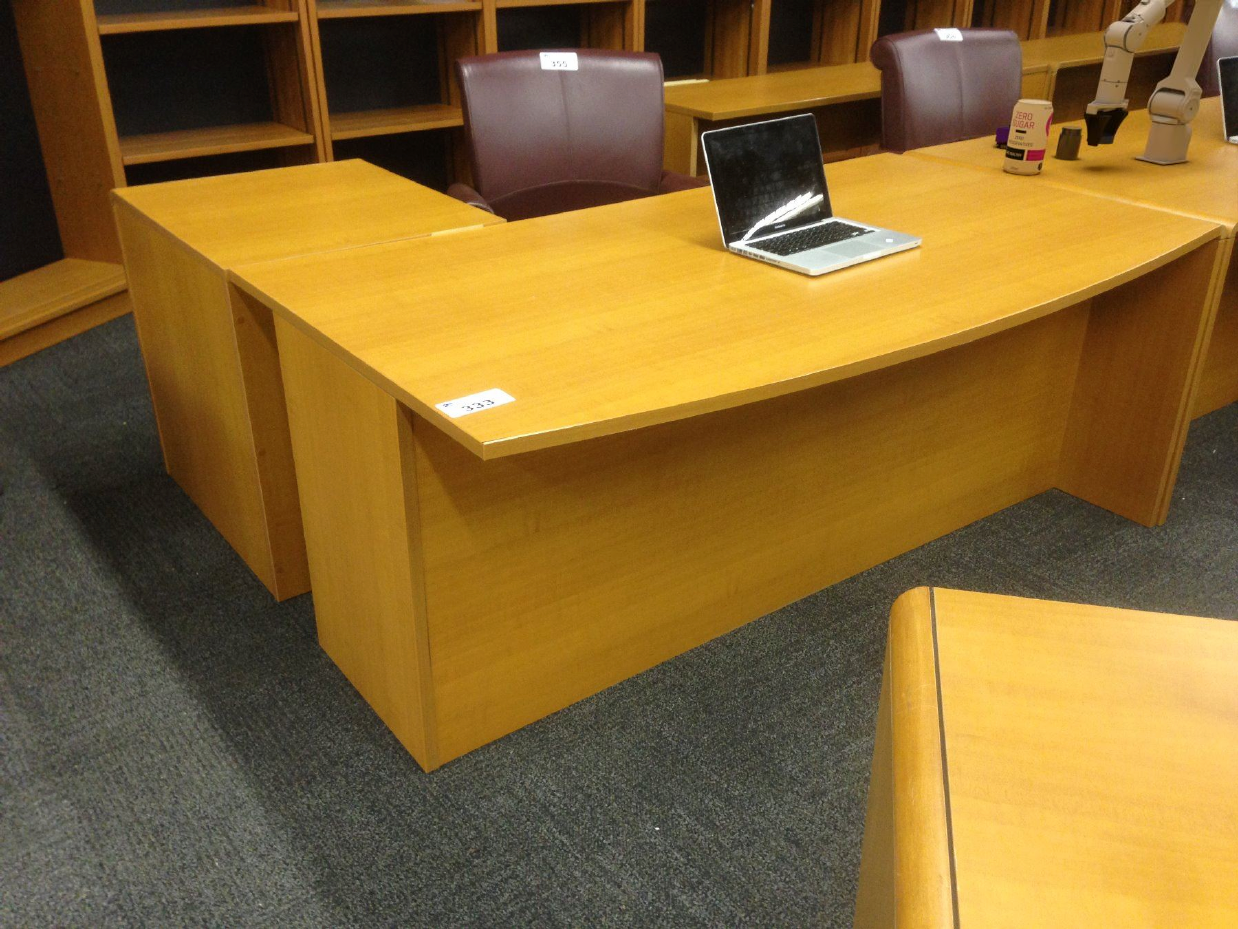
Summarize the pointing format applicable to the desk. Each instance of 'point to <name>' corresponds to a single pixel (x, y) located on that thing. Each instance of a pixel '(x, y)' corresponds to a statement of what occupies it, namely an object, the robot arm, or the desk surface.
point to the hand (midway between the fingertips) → (1099, 144)
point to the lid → (1106, 138)
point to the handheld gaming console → (1002, 136)
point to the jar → (1069, 143)
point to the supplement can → (1028, 136)
